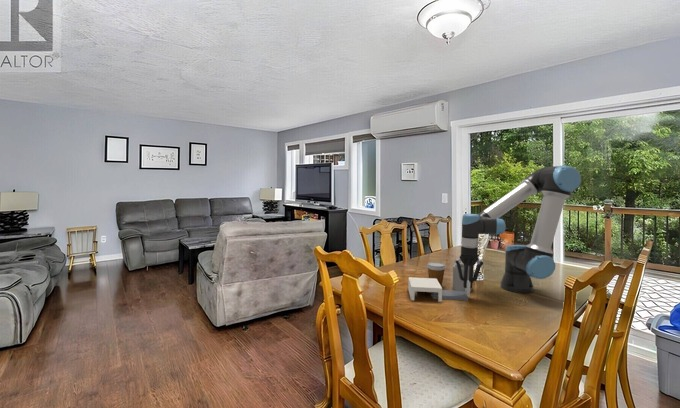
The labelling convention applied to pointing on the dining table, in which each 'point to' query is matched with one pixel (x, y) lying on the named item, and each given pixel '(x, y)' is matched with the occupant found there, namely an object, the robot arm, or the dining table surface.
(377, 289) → the dining table surface
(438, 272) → the disposable coffee cup
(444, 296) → the tile
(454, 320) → the dining table surface
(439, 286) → the shelf
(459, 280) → the cup
